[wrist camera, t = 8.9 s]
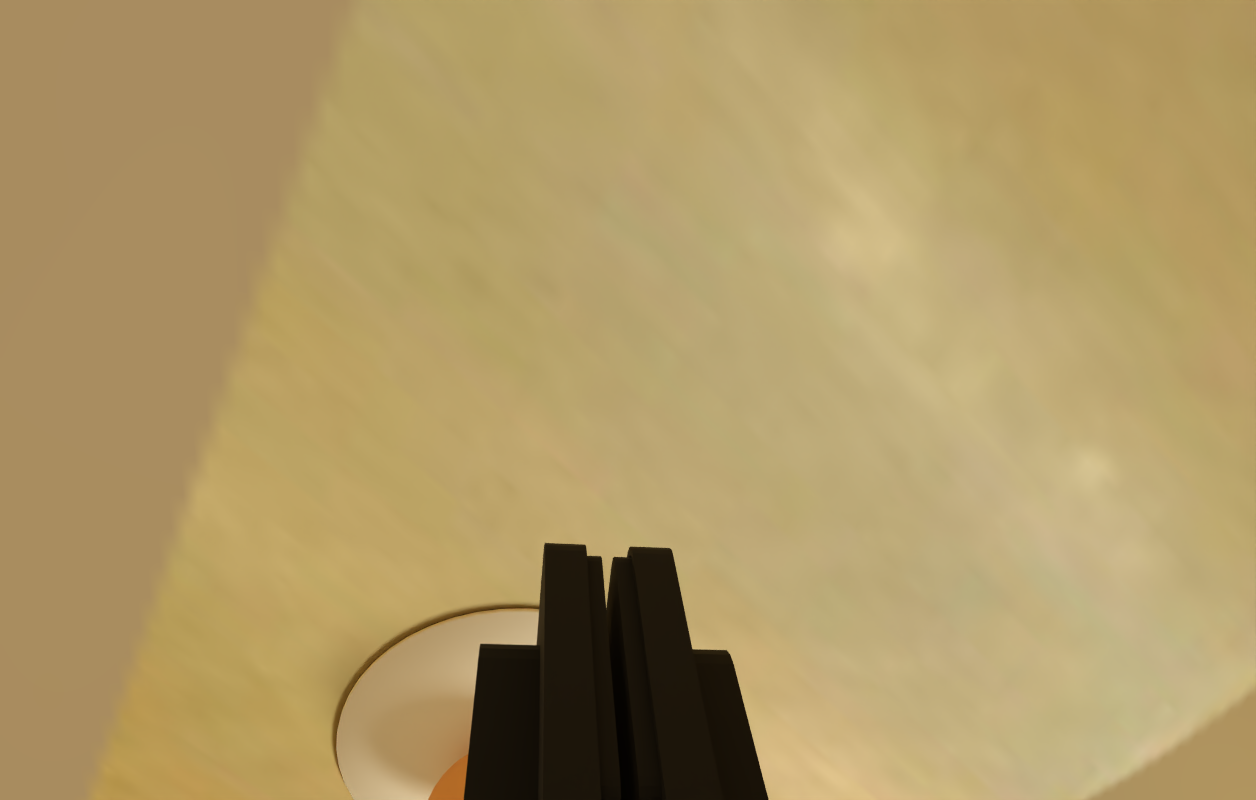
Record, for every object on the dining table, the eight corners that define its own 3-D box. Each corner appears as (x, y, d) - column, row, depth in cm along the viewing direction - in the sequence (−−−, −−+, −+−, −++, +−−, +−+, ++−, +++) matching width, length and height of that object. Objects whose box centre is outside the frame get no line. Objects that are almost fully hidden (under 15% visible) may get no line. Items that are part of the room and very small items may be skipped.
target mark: (329, 602, 29) (328, 606, 29) (714, 613, 31) (716, 617, 30) (343, 864, 35) (342, 869, 34) (668, 862, 36) (668, 867, 36)
